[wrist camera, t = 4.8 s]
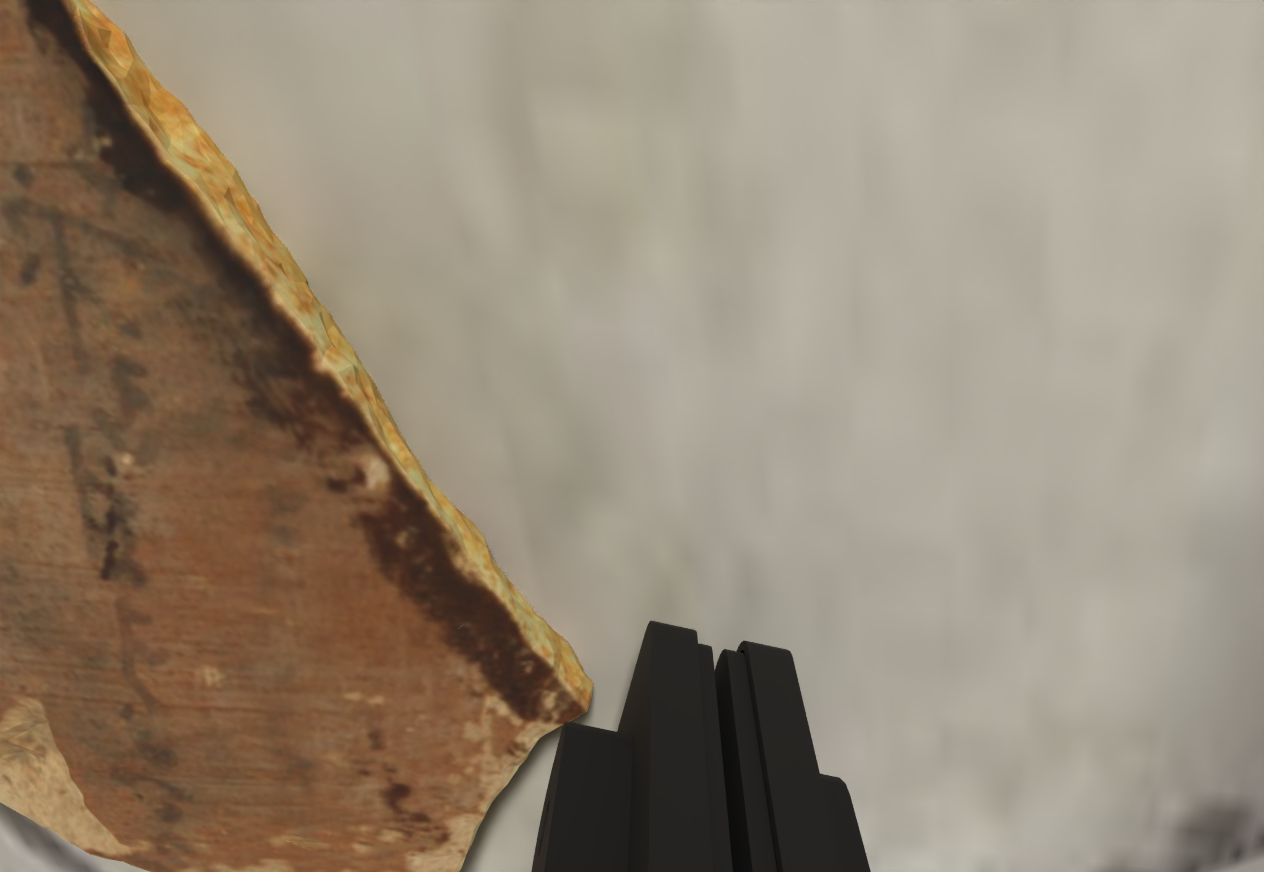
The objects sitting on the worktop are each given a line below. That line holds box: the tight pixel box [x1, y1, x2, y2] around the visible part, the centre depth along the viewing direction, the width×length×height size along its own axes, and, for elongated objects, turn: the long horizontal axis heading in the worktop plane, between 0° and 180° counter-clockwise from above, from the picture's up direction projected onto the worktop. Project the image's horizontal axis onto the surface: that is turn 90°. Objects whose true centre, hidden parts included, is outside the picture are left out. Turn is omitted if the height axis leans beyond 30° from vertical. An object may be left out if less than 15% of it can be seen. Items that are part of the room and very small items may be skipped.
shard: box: [0, 0, 594, 872], centre depth 10 cm, size 11×8×2 cm
